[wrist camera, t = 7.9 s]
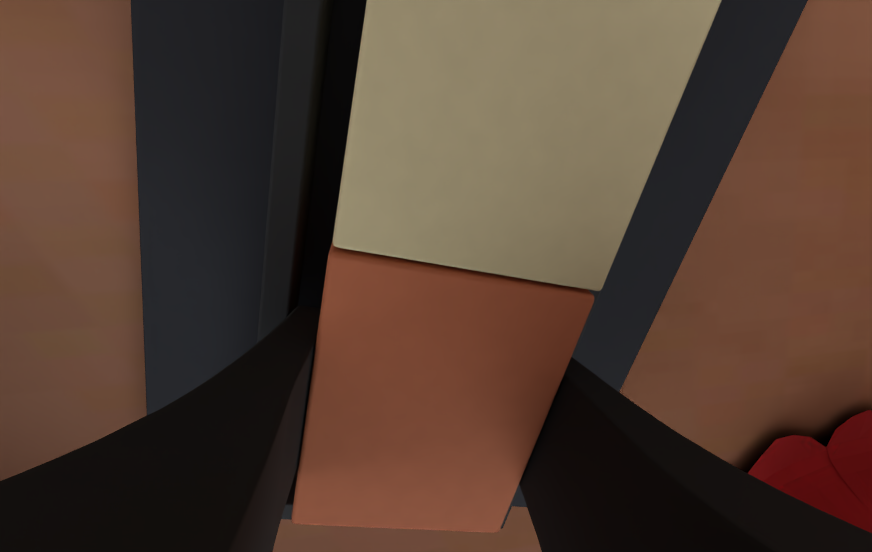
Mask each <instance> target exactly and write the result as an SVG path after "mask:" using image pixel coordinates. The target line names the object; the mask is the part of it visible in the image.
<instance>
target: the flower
mask: <svg viewBox="0 0 872 552" xmlns="http://www.w3.org/2000/svg"><path fill="white" fill-rule="evenodd" d="M748 474H750V475H752V476H753V477H755V478H757V479H759V480H761V481H763V482H765V483H767V484H769V485H771V486H773V487H774V488H776V489H778V490H780V491H782V492H784V493H786V494H788V495H790V496H792V497H794V498H796V499H799V500H801V501H803V502H805V503H807V504H809V505H811V506H813V507H815V508H817V509H819V510H822V511H824V512H826V513H828V514H830V515H833V516H835V517H837V518H839V519H841V520H844V521H846V522H848V523H850V524H852V525H855V526H857V527H859V528H861V529H863V530H866V531H868V532H870V533H872V411H871V410H867V411H865V412H862V413H860V414H858V415H855V416H853V417H851V418H850V419H849V420H847V421H846V422H845V423H843V424H842V425H841V426H839V427H838V428H836V430H835V432H834V434H833V436H832V437H831V439H830V441H829V443H828V445H827V447H825V446H823V445H822V444H820V443H819V442H817V441H816V440H814V439H813V438H811V437H806V436H798V435H791V436H787V437H783V438H779V439H776V440H775V441H774V442H773V443H772V444H771V446H770V447H769V448H768V449H767V450H766V451H765V452H764V454H763V455H762V456H761V457H760V458H759V460H758V461H757V462H756V463H755V465H754V466H753V467H752V468H751V470H750V471H749V472H748Z"/></svg>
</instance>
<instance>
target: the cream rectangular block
mask: <svg viewBox="0 0 872 552" xmlns="http://www.w3.org/2000/svg"><path fill="white" fill-rule="evenodd" d="M721 1H722V0H367V3H366V10H365V17H364V24H363V31H362V38H361V45H360V52H359V59H358V66H357V73H356V80H355V87H354V94H353V101H352V108H351V115H350V122H349V129H348V136H347V143H346V150H345V157H344V164H343V171H342V178H341V185H340V192H339V199H338V206H337V213H336V220H335V227H334V234H333V245H334V246H336V247H338V248H344V249H350V250H356V251H362V252H368V253H374V254H380V255H386V256H391V257H397V258H403V259H409V260H415V261H421V262H427V263H433V264H439V265H445V266H451V267H457V268H463V269H469V270H475V271H481V272H487V273H493V274H499V275H505V276H510V277H516V278H522V279H528V280H534V281H540V282H546V283H552V284H558V285H564V286H570V287H576V288H582V289H588V290H594V291H600V290H601V289H602V287H603V285H604V282H605V280H606V277H607V275H608V273H609V270H610V268H611V265H612V263H613V261H614V258H615V256H616V253H617V251H618V249H619V246H620V244H621V241H622V239H623V237H624V234H625V232H626V229H627V227H628V224H629V222H630V220H631V217H632V215H633V212H634V210H635V208H636V205H637V203H638V200H639V198H640V196H641V193H642V191H643V188H644V186H645V184H646V181H647V179H648V176H649V174H650V172H651V169H652V167H653V164H654V162H655V159H656V157H657V155H658V152H659V150H660V147H661V145H662V143H663V140H664V138H665V135H666V133H667V131H668V128H669V126H670V123H671V121H672V119H673V116H674V114H675V111H676V109H677V107H678V104H679V102H680V99H681V97H682V95H683V92H684V90H685V87H686V85H687V82H688V80H689V78H690V75H691V73H692V70H693V68H694V66H695V63H696V61H697V58H698V56H699V54H700V51H701V49H702V46H703V44H704V42H705V39H706V37H707V34H708V32H709V30H710V27H711V25H712V22H713V20H714V17H715V15H716V13H717V10H718V8H719V5H720V3H721Z"/></svg>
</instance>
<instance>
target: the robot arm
mask: <svg viewBox="0 0 872 552" xmlns="http://www.w3.org/2000/svg"><path fill="white" fill-rule="evenodd" d="M320 310H321V308H316V307H309V306H302V305H300V306H298V307H297V308H295V309H294V310H293V311H292V312H291V313H290V314H289V315H288V316H287V317H286V318H285V319H284V320H283V321H282V322H281V323H280V324H279V325H277V326H276V327H275V328H274V329H273V330H272V331H271V332H270V333H269V334H267V335H266V336H265V337H264V338H263V339H261V340H260V341H259V342H258V343H257V344H255V345H254V346H253V347H252V348H251V349H249V350H248V351H247V352H246V353H244V354H243V355H242V356H240V357H239V358H238V359H236V360H235V361H234V362H232V363H231V364H230V365H228V366H227V367H225V368H224V369H223V370H221V371H220V372H219V373H217V374H216V375H214V376H213V377H212V378H210V379H209V380H207V381H206V382H204V383H202V384H201V385H199V386H198V387H196V388H195V389H193V390H192V391H190V392H188V393H187V394H185V395H183V396H182V397H180V398H178V399H177V400H175V401H173V402H172V403H170V404H168V405H166V406H165V407H163V408H161V409H159V410H157V411H155V412H153V413H151V414H149V415H147V416H145V417H143V418H141V419H139V420H137V421H135V422H133V423H131V424H129V425H127V426H125V427H123V428H121V429H119V430H117V431H115V432H113V433H111V434H109V435H107V436H105V437H103V438H101V439H99V440H97V441H95V442H93V443H90V444H88V445H86V446H84V447H81V448H79V449H77V450H74V451H72V452H70V453H68V454H65V455H63V456H61V457H59V458H56V459H54V460H51V461H49V462H46V463H44V464H42V465H39V466H37V467H34V468H32V469H29V470H27V471H25V472H22V473H20V474H17V475H15V476H12V477H10V478H7V479H5V480H2V481H0V552H272V550H273V546H274V543H275V539H276V535H277V531H278V528H279V524H280V521H281V518H282V514H283V511H284V508H285V505H286V501H287V498H288V495H289V492H290V488H291V485H292V482H293V479H294V476H295V472H296V469H297V466H298V463H299V459H300V453H301V446H302V438H303V431H304V424H305V417H306V410H307V403H308V396H309V389H310V381H311V374H312V367H313V360H314V353H315V346H316V339H317V332H318V324H319V317H320ZM519 485H520V488H521V491H522V493H523V496H524V499H525V502H526V505H527V508H528V511H529V514H530V517H531V519H532V522H533V525H534V528H535V531H536V534H537V537H538V540H539V543H540V547H541V550H542V552H872V533H870V532H868V531H866V530H863V529H861V528H859V527H857V526H855V525H852V524H850V523H848V522H846V521H844V520H841V519H839V518H837V517H835V516H833V515H830V514H828V513H826V512H824V511H822V510H819V509H817V508H815V507H813V506H811V505H809V504H807V503H805V502H803V501H801V500H799V499H796V498H794V497H792V496H790V495H788V494H786V493H784V492H782V491H780V490H778V489H776V488H774V487H773V486H771V485H769V484H767V483H765V482H763V481H761V480H759V479H757V478H755V477H753V476H752V475H750V474H748V473H746V472H744V471H742V470H740V469H738V468H736V467H735V466H733V465H731V464H729V463H728V462H726V461H724V460H722V459H720V458H719V457H717V456H715V455H714V454H712V453H710V452H709V451H707V450H705V449H704V448H702V447H700V446H699V445H697V444H695V443H694V442H692V441H690V440H689V439H687V438H685V437H684V436H682V435H680V434H679V433H677V432H676V431H674V430H673V429H671V428H670V427H668V426H666V425H665V424H663V423H662V422H661V421H659V420H658V419H656V418H655V417H653V416H652V415H650V414H649V413H647V412H646V411H645V410H643V409H642V408H640V407H639V406H637V405H636V404H634V403H633V402H632V401H630V400H629V399H628V398H626V397H625V396H623V395H622V394H621V393H619V392H618V391H617V390H615V389H614V388H613V387H611V386H610V385H609V384H607V383H606V382H605V381H603V380H602V379H601V378H599V377H598V376H597V375H595V374H594V373H593V372H591V371H590V370H589V369H587V368H586V367H585V366H583V365H582V364H581V363H579V362H578V361H577V360H575V359H574V358H573V357H571V359H570V361H569V364H568V366H567V368H566V371H565V373H564V376H563V378H562V380H561V383H560V385H559V388H558V390H557V393H556V395H555V397H554V400H553V402H552V405H551V407H550V410H549V412H548V414H547V417H546V419H545V422H544V424H543V426H542V429H541V431H540V434H539V436H538V439H537V441H536V443H535V446H534V448H533V451H532V453H531V456H530V458H529V460H528V463H527V465H526V468H525V470H524V472H523V475H522V477H521V480H520V482H519Z"/></svg>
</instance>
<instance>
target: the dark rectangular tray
mask: <svg viewBox="0 0 872 552" xmlns="http://www.w3.org/2000/svg"><path fill="white" fill-rule="evenodd" d="M807 1H808V0H722V1H721V3H720V5H719V8H718V10H717V13H716V15H715V17H714V20H713V22H712V25H711V27H710V30H709V32H708V34H707V37H706V39H705V42H704V44H703V46H702V49H701V51H700V54H699V56H698V58H697V61H696V63H695V66H694V68H693V70H692V73H691V75H690V78H689V80H688V82H687V85H686V87H685V90H684V92H683V95H682V97H681V99H680V102H679V104H678V107H677V109H676V111H675V114H674V116H673V119H672V121H671V123H670V126H669V128H668V131H667V133H666V135H665V138H664V140H663V143H662V145H661V147H660V150H659V152H658V155H657V157H656V159H655V162H654V164H653V167H652V169H651V172H650V174H649V176H648V179H647V181H646V184H645V186H644V188H643V191H642V193H641V196H640V198H639V200H638V203H637V205H636V208H635V210H634V212H633V215H632V217H631V220H630V222H629V224H628V227H627V229H626V232H625V234H624V237H623V239H622V241H621V244H620V246H619V249H618V251H617V253H616V256H615V258H614V261H613V263H612V265H611V268H610V270H609V273H608V275H607V277H606V280H605V282H604V285H603V287H602V289H601V290H600V291H594V290H589V291H590V292H591V293H592V294H593V295H594V303H593V305H592V308H591V310H590V313H589V315H588V317H587V320H586V322H585V325H584V327H583V330H582V332H581V334H580V337H579V339H578V342H577V344H576V347H575V349H574V351H573V354H572V356H571V357H573V358H574V359H575V360H577V361H578V362H579V363H581V364H582V365H583V366H585V367H586V368H587V369H589V370H590V371H591V372H593V373H594V374H595V375H597V376H598V377H599V378H601V379H602V380H603V381H605V382H606V383H607V384H609V385H610V386H611V387H613V388H614V389H615V390H617V391H618V392H619V391H620V389H621V387H622V385H623V383H624V381H625V379H626V377H627V374H628V372H629V370H630V368H631V366H632V364H633V362H634V360H635V358H636V356H637V354H638V352H639V350H640V347H641V345H642V343H643V341H644V339H645V337H646V335H647V333H648V331H649V329H650V327H651V325H652V323H653V321H654V318H655V316H656V314H657V312H658V310H659V308H660V306H661V304H662V302H663V300H664V298H665V296H666V294H667V291H668V289H669V287H670V285H671V283H672V281H673V279H674V277H675V275H676V273H677V271H678V269H679V267H680V264H681V262H682V260H683V258H684V256H685V254H686V252H687V250H688V248H689V246H690V244H691V242H692V240H693V237H694V235H695V233H696V231H697V229H698V227H699V225H700V223H701V221H702V219H703V217H704V215H705V213H706V210H707V208H708V206H709V204H710V202H711V200H712V198H713V196H714V194H715V192H716V190H717V188H718V186H719V184H720V181H721V179H722V177H723V175H724V173H725V171H726V169H727V167H728V165H729V163H730V161H731V159H732V157H733V154H734V152H735V150H736V148H737V146H738V144H739V142H740V140H741V138H742V136H743V134H744V132H745V130H746V127H747V125H748V123H749V121H750V119H751V117H752V115H753V113H754V111H755V109H756V107H757V105H758V103H759V100H760V98H761V96H762V94H763V92H764V90H765V88H766V86H767V84H768V82H769V80H770V78H771V76H772V73H773V71H774V69H775V67H776V65H777V63H778V61H779V59H780V57H781V55H782V53H783V51H784V49H785V46H786V44H787V42H788V40H789V38H790V36H791V34H792V32H793V30H794V28H795V26H796V24H797V22H798V20H799V17H800V15H801V13H802V11H803V9H804V7H805V5H806V3H807ZM366 3H367V0H131V17H132V43H133V69H134V94H135V120H136V146H137V171H138V197H139V222H140V248H141V274H142V299H143V325H144V350H145V376H146V402H147V415H149V414H151V413H153V412H155V411H157V410H159V409H161V408H163V407H165V406H166V405H168V404H170V403H172V402H173V401H175V400H177V399H178V398H180V397H182V396H183V395H185V394H187V393H188V392H190V391H192V390H193V389H195V388H196V387H198V386H199V385H201V384H202V383H204V382H206V381H207V380H209V379H210V378H212V377H213V376H214V375H216V374H217V373H219V372H220V371H221V370H223V369H224V368H225V367H227V366H228V365H230V364H231V363H232V362H234V361H235V360H236V359H238V358H239V357H240V356H242V355H243V354H244V353H246V352H247V351H248V350H249V349H251V348H252V347H253V346H254V345H255V344H257V343H258V342H259V341H260V340H261V339H263V338H264V337H265V336H266V335H267V334H269V333H270V332H271V331H272V330H273V329H274V328H275V327H276V326H277V325H279V324H280V323H281V322H282V321H283V320H284V319H285V318H286V317H287V316H288V315H289V314H290V313H291V312H292V311H293V310H294V309H295V308H297V307H298V306H300V305H302V306H309V307H316V308H321V303H322V296H323V289H324V282H325V275H326V267H327V260H328V255H329V251H330V248H331V244H332V241H333V234H334V227H335V220H336V213H337V206H338V199H339V192H340V185H341V178H342V171H343V164H344V157H345V150H346V143H347V136H348V129H349V122H350V115H351V108H352V101H353V94H354V87H355V80H356V73H357V66H358V59H359V52H360V45H361V38H362V31H363V24H364V17H365V10H366ZM299 460H300V459H299ZM298 467H299V463H298V466H297V469H296V472H295V476H294V479H293V482H292V485H291V488H290V492H289V495H288V498H287V501H286V505H285V508H284V511H283V514H282V518H281V519H291V517H292V510H293V503H294V495H295V488H296V481H297V474H298ZM512 506H518V507H527V505H526V502H525V499H524V496H523V493H522V491H521V488H520V485H518V487H517V489H516V492H515V494H514V497H513V499H512V502H511V504H510V506H509V509H508V511H507V514H506V516H505V519H504V521H503V523H502V526H501V528H500V529H502V528H503V526H504V524H505V521H506V519H507V516H508V514H509V512H510V509H511V507H512Z"/></svg>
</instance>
